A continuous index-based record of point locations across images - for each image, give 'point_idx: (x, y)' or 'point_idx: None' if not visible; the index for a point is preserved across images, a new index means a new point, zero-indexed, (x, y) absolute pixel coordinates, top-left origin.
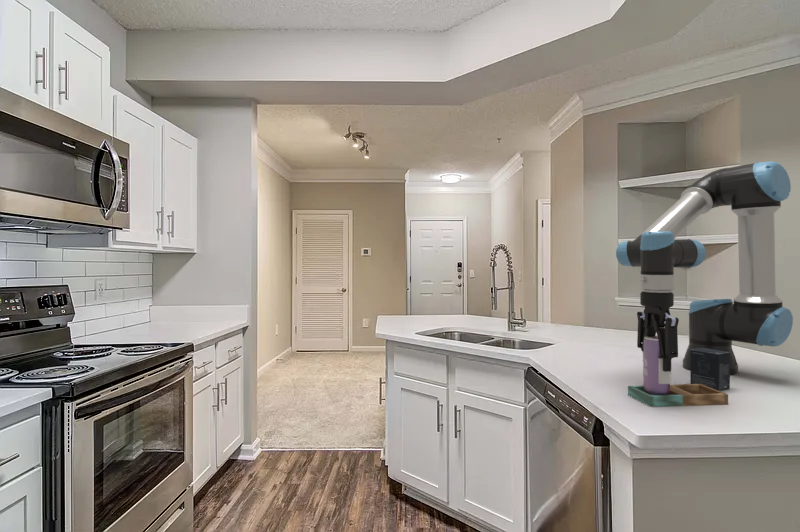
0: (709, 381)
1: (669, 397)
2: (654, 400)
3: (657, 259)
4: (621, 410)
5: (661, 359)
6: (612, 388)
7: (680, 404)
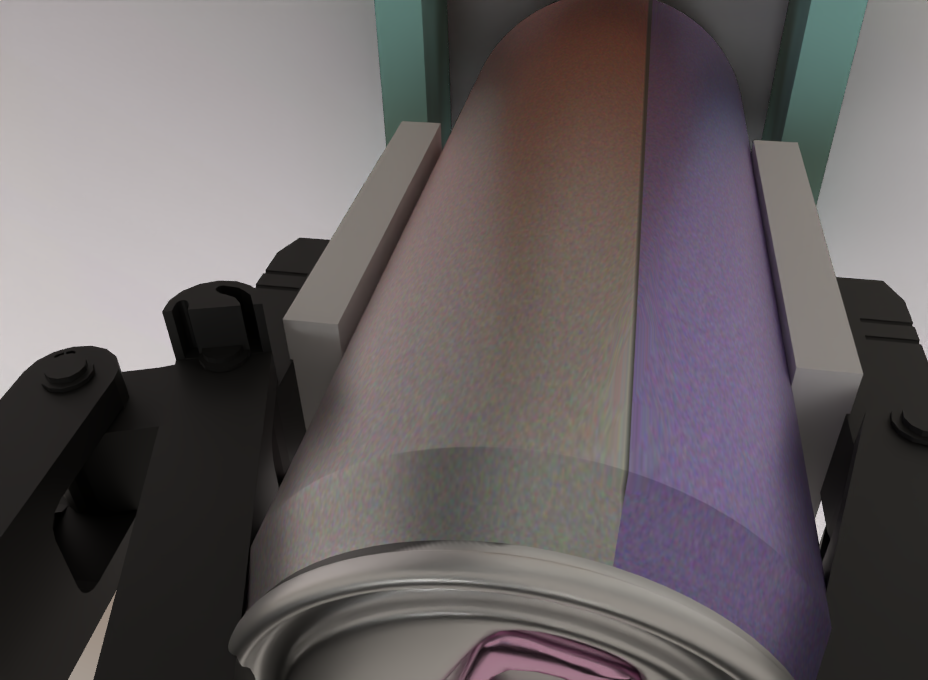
0: None
1: (830, 134)
2: None
3: None
4: None
5: (816, 499)
6: (215, 257)
7: None
